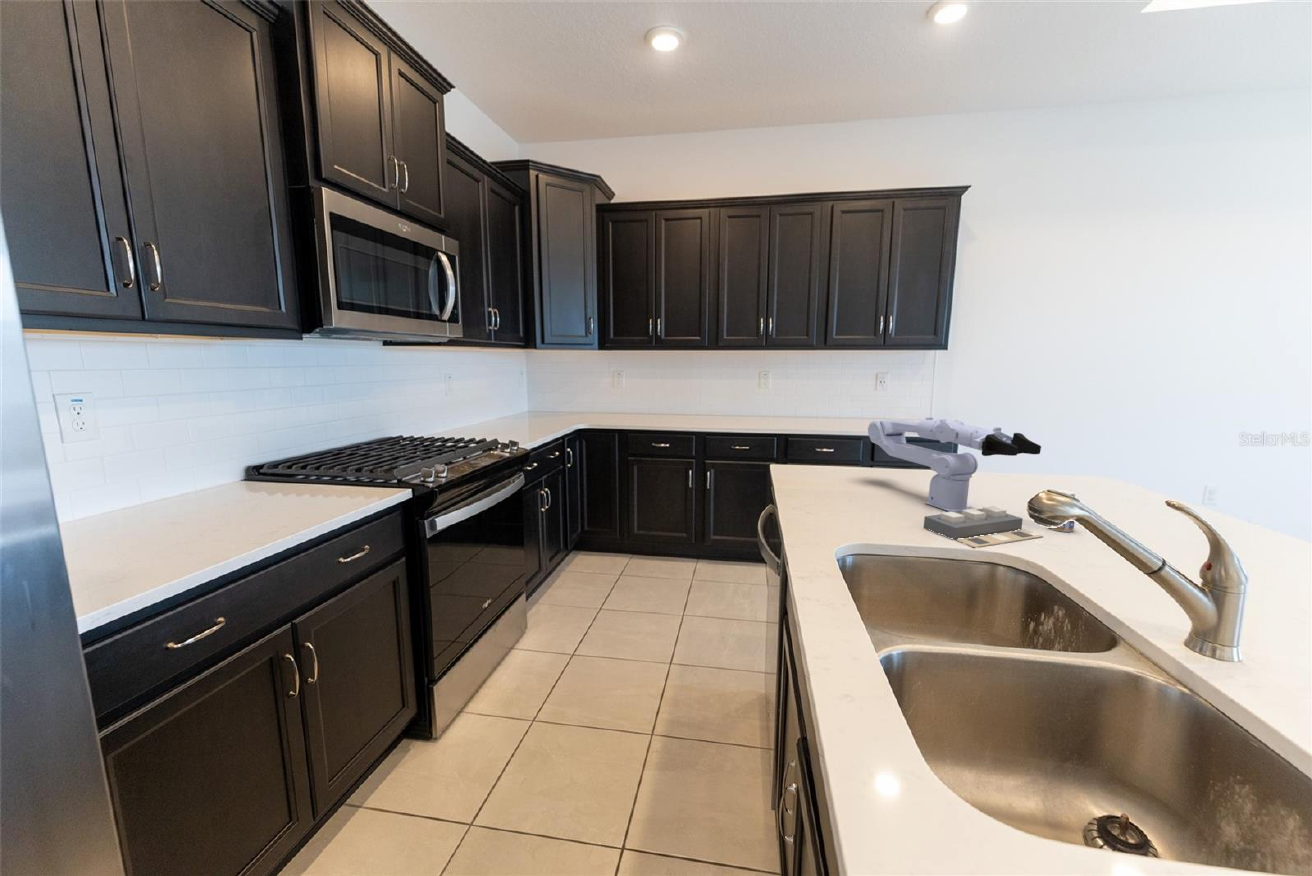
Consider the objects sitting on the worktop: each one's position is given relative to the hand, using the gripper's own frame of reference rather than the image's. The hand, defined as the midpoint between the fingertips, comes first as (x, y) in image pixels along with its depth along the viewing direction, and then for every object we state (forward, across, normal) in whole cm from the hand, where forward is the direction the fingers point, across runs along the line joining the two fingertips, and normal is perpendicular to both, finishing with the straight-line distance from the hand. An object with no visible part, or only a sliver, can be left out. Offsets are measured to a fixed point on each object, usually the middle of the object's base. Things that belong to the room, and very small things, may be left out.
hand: (1028, 450), depth 127 cm
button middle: (-3, -9, +19) cm, 22 cm away
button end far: (-4, -2, +19) cm, 19 cm away
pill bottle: (+3, +12, +20) cm, 23 cm away
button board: (-3, -9, +21) cm, 23 cm away
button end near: (-3, -16, +19) cm, 25 cm away
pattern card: (+4, -9, +20) cm, 23 cm away
